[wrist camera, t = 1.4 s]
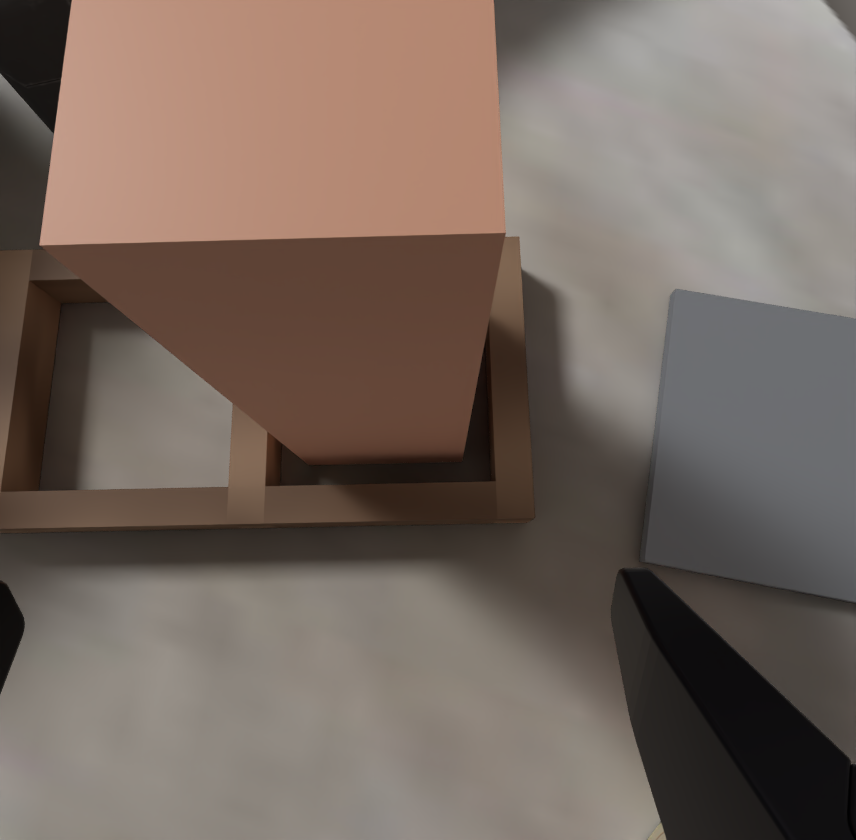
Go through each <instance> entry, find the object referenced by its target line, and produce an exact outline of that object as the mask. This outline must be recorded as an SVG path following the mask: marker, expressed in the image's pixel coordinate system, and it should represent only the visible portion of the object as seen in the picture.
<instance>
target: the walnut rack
mask: <svg viewBox="0 0 856 840" xmlns="http://www.w3.org/2000/svg"><path fill="white" fill-rule="evenodd" d="M95 302H108V301H107V300H106V299H105V298H103V297H102V296H101V295H100V294H98V293H97V292H96V291H95V290H93V289H92V288H91V287H90V286H89V285H87V284H86V283H85V282H84V281H82V280H81V279H80V278H79V277H78V276H76V275H75V274H74V273H73V272H71V271H70V270H69V269H68V268H67V267H65V266H64V265H63V264H62V263H60V262H59V261H58V260H57V259H55V258H54V257H53V256H52V255H51V254H49V253H48V252H47V251H46V250H44V249H33V250H0V533H43V532H92V531H142V530H191V529H241V528H290V527H340V526H389V525H439V524H488V523H527V522H529V521H531V520H533V519H534V518H535V507H534V489H533V471H532V454H531V436H530V418H529V401H528V383H527V365H526V348H525V330H524V312H523V294H522V277H521V259H520V241H519V237H505V239H504V244H503V249H502V255H501V260H500V265H499V270H498V276H497V281H496V286H495V291H494V297H493V302H492V307H491V312H490V318H489V323H488V328H487V333H486V339H485V352H486V376H487V400H488V424H489V448H490V473H491V481H489V482H442V483H395V484H347V485H300V486H280V479H281V450H282V443H281V442H280V441H278V440H277V439H276V438H275V437H274V436H272V435H271V434H270V433H269V432H267V431H266V430H265V429H264V428H263V427H261V426H260V425H259V424H258V423H256V422H255V421H254V420H253V419H252V418H250V417H249V416H248V415H247V414H245V413H244V412H243V411H242V410H241V409H239V408H238V407H237V406H236V405H234V404H233V410H232V428H231V447H230V466H229V485H228V487H206V488H158V489H111V490H64V491H39V482H40V474H41V466H42V458H43V449H44V441H45V433H46V425H47V416H48V408H49V400H50V392H51V383H52V375H53V367H54V359H55V350H56V342H57V334H58V325H59V317H60V309H61V303H95Z"/></svg>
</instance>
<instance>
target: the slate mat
mask: <svg viewBox="0 0 856 840" xmlns="http://www.w3.org/2000/svg"><path fill="white" fill-rule="evenodd" d="M639 562H645V563H650V564H655V565H660V566H665V567H670V568H676V569H681V570H686V571H691V572H696V573H701V574H707V575H712V576H717V577H722V578H727V579H732V580H738V581H743V582H748V583H753V584H758V585H763V586H769V587H774V588H779V589H784V590H789V591H794V592H800V593H805V594H810V595H815V596H820V597H826V598H831V599H836V600H841V601H846V602H851V603H856V319H854V318H848V317H842V316H836V315H830V314H824V313H818V312H812V311H806V310H800V309H794V308H788V307H782V306H776V305H770V304H764V303H758V302H752V301H746V300H740V299H734V298H728V297H722V296H716V295H710V294H704V293H698V292H692V291H686V290H680V289H675V290H674V292H673V293H672V294H671V295H670V302H669V310H668V319H667V327H666V336H665V345H664V353H663V362H662V370H661V379H660V388H659V396H658V405H657V413H656V422H655V431H654V439H653V448H652V457H651V465H650V474H649V482H648V491H647V500H646V508H645V517H644V525H643V534H642V543H641V551H640V560H639Z"/></svg>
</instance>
